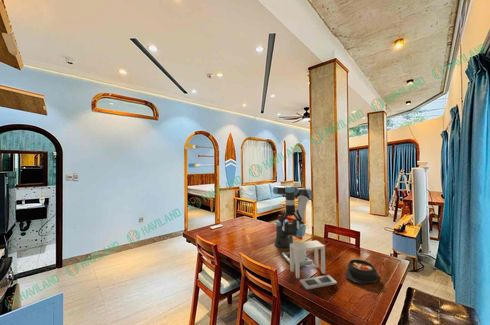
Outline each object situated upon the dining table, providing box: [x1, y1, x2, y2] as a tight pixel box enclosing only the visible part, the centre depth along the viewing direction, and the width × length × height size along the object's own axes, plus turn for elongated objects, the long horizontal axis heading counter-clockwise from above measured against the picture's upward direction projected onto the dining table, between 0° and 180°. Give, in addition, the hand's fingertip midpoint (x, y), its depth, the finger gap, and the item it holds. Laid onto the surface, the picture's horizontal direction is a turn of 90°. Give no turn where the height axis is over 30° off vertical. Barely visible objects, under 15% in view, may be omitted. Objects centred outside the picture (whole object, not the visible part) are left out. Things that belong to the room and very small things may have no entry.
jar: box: [293, 241, 307, 263], centre depth 151 cm, size 11×10×15 cm
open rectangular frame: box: [289, 240, 338, 290], centre depth 134 cm, size 22×22×20 cm
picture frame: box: [281, 235, 313, 268], centre depth 156 cm, size 21×16×15 cm
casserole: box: [344, 259, 379, 285], centre depth 133 cm, size 25×19×8 cm
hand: (290, 229), depth 165 cm, fingers open, 13 cm apart
